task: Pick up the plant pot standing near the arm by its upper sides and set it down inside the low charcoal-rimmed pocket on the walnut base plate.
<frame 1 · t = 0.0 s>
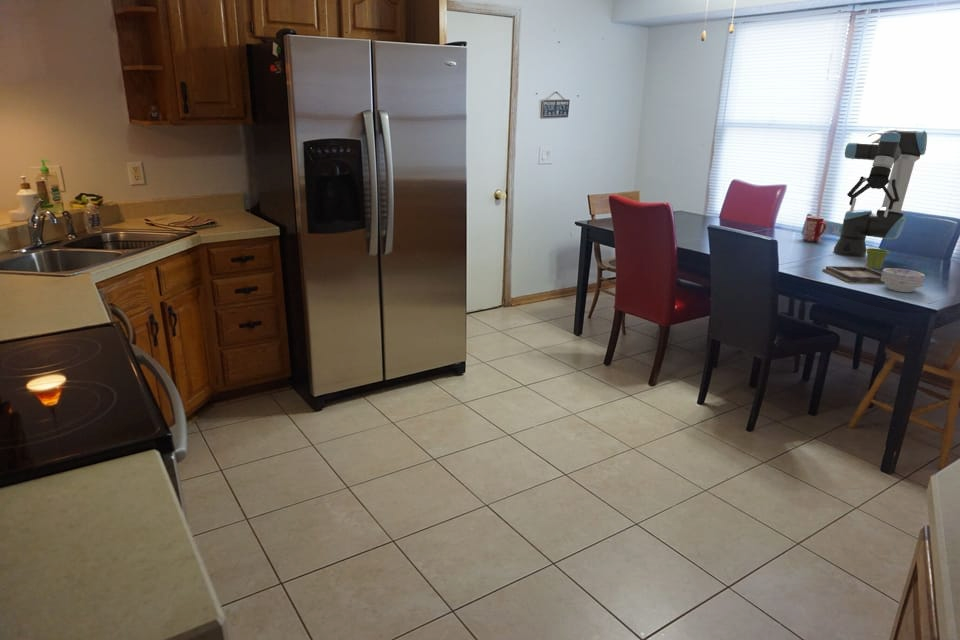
hand: (867, 214, 284), 28 cm above the table, tool tilted 20°, fingers open, 13 cm apart
collar seat: (857, 276, 289), on the table
plant pot: (873, 268, 307), on the table
paper bowls: (899, 290, 271), on the table
mug: (813, 241, 366), on the table
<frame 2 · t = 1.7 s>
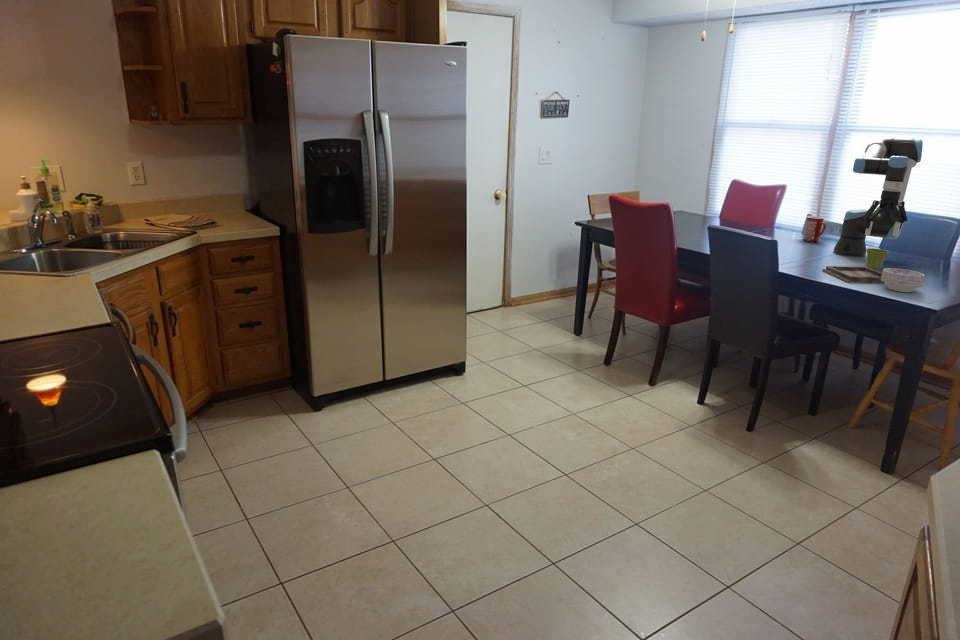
hand: (881, 235, 302), 16 cm above the table, tool pointing down, fingers open, 13 cm apart
nothing on the table moved.
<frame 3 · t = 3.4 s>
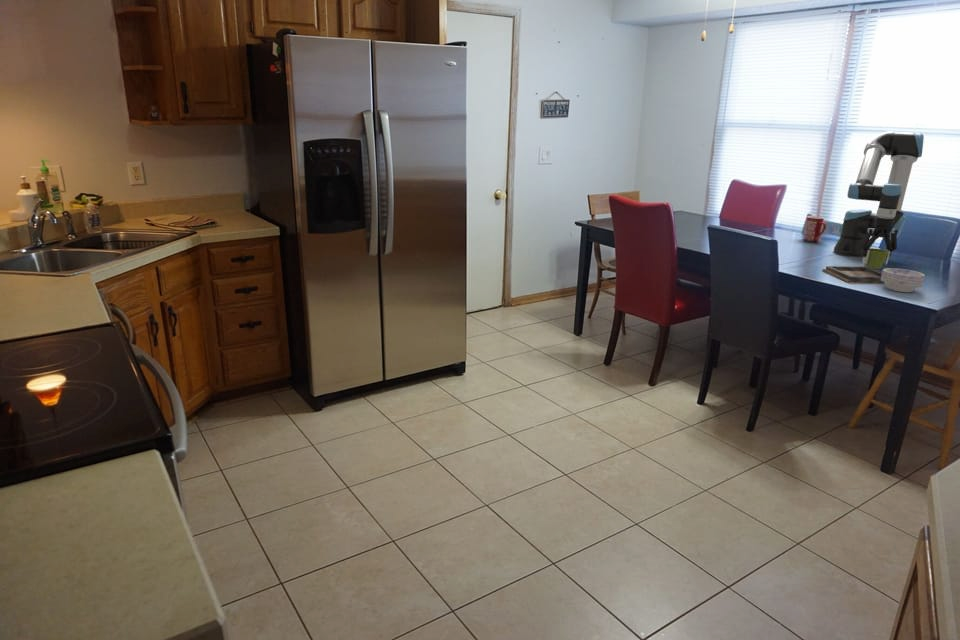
hand: (874, 263, 306), 2 cm above the table, tool pointing down, fingers closed on plant pot, 9 cm apart
plant pot: (873, 268, 307), on the table, touching gripper
everything else where it was.
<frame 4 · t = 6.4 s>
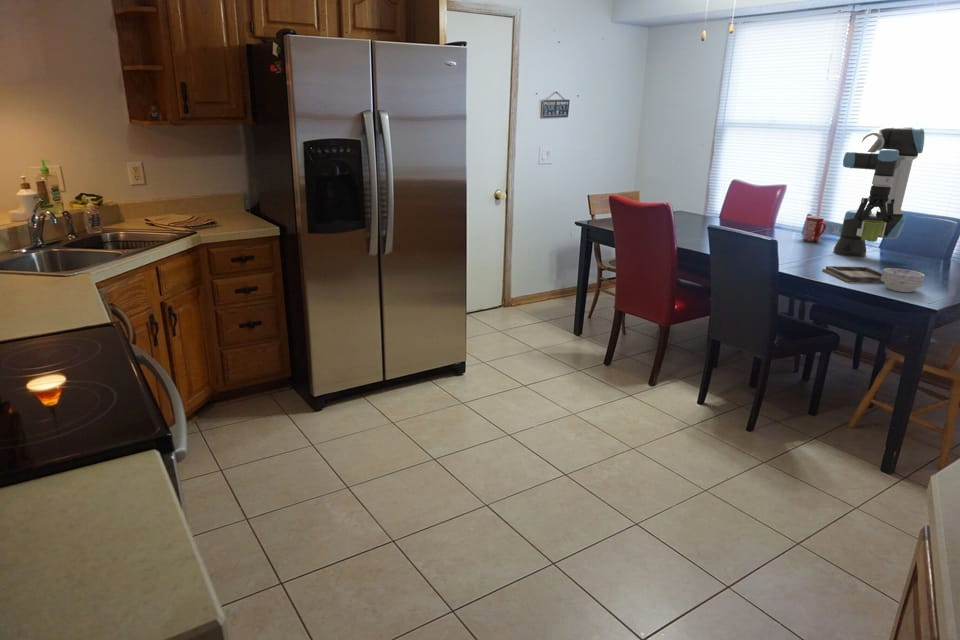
hand: (869, 236, 286), 18 cm above the table, tool pointing down, fingers closed on plant pot, 9 cm apart
plant pot: (868, 241, 287), point 16 cm above the table, touching gripper
everything else where it was.
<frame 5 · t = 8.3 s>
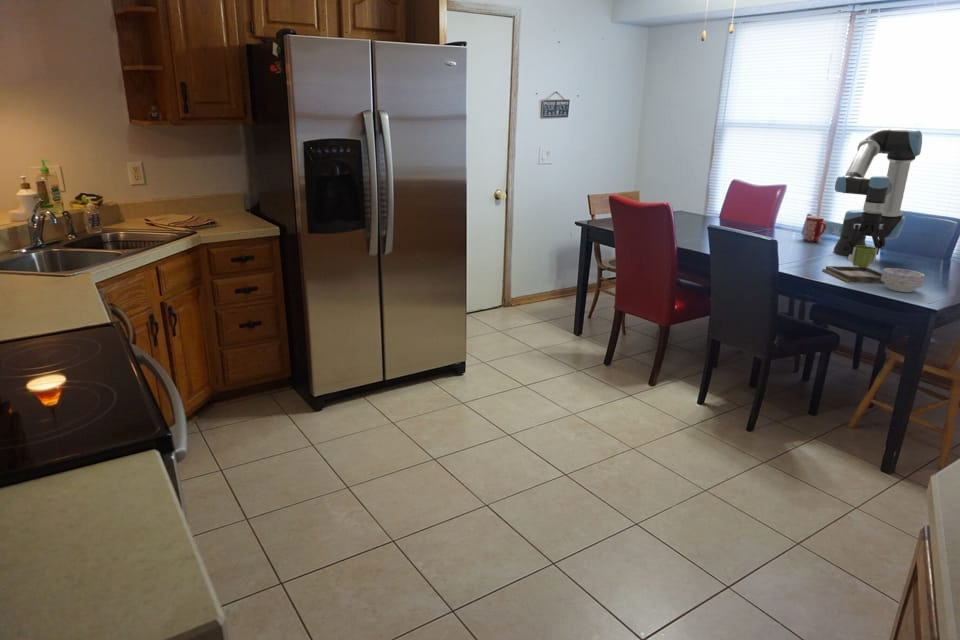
hand: (861, 261, 287), 7 cm above the table, tool pointing down, fingers closed on plant pot, 9 cm apart
plant pot: (860, 266, 288), point 5 cm above the table, touching gripper
everything else where it was.
when the fingers open (4 cm above the table, at t = 9.6 s): plant pot stays where it is, resting on collar seat.
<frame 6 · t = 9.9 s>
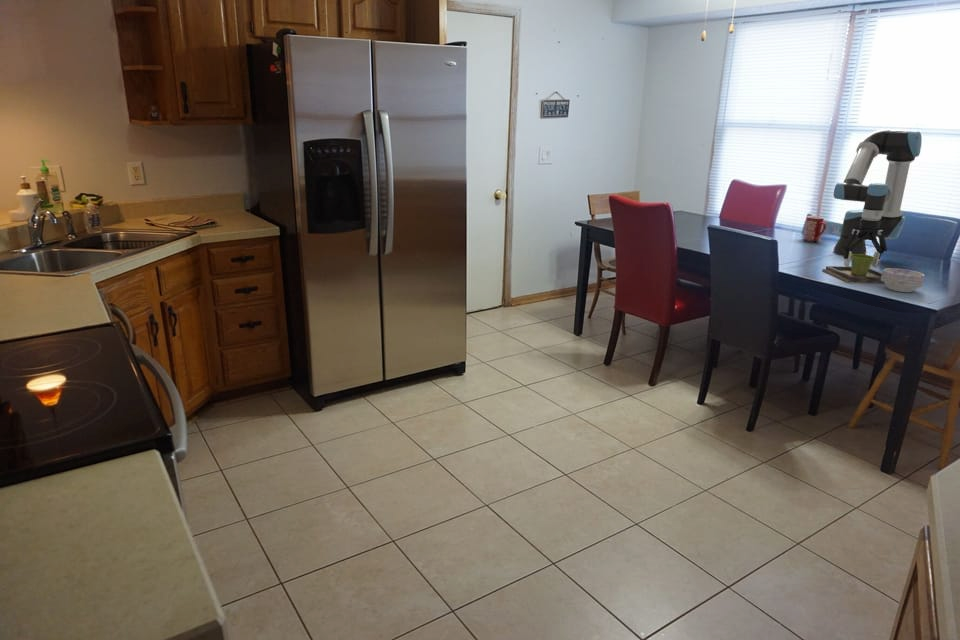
hand: (860, 266, 288), 5 cm above the table, tool pointing down, fingers open, 12 cm apart
plant pot: (858, 275, 289), point 1 cm above the table, touching collar seat
everything else where it was.
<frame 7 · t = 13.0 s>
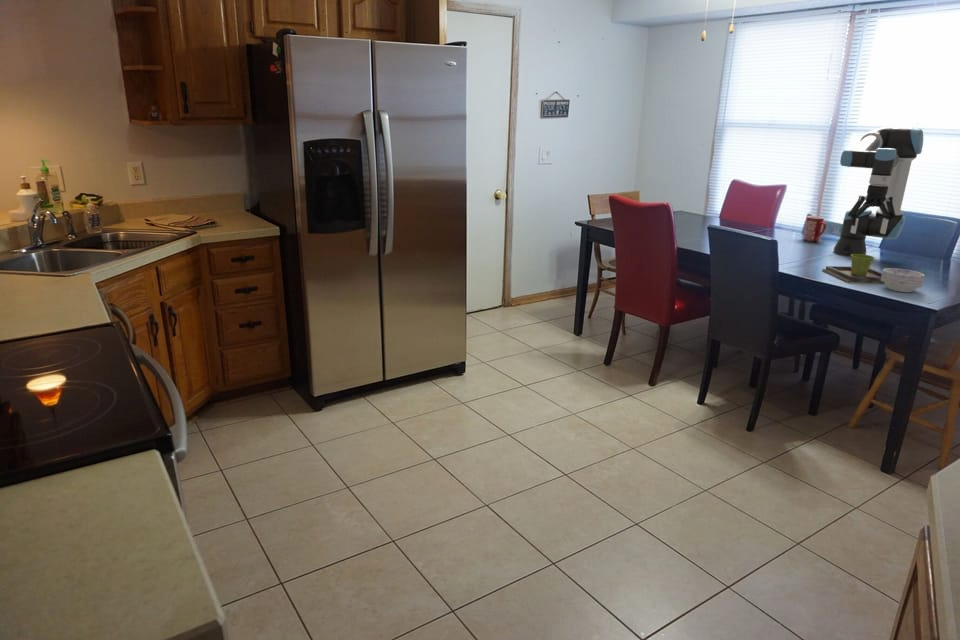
hand: (867, 233, 283), 20 cm above the table, tool pointing down, fingers open, 13 cm apart
nothing on the table moved.
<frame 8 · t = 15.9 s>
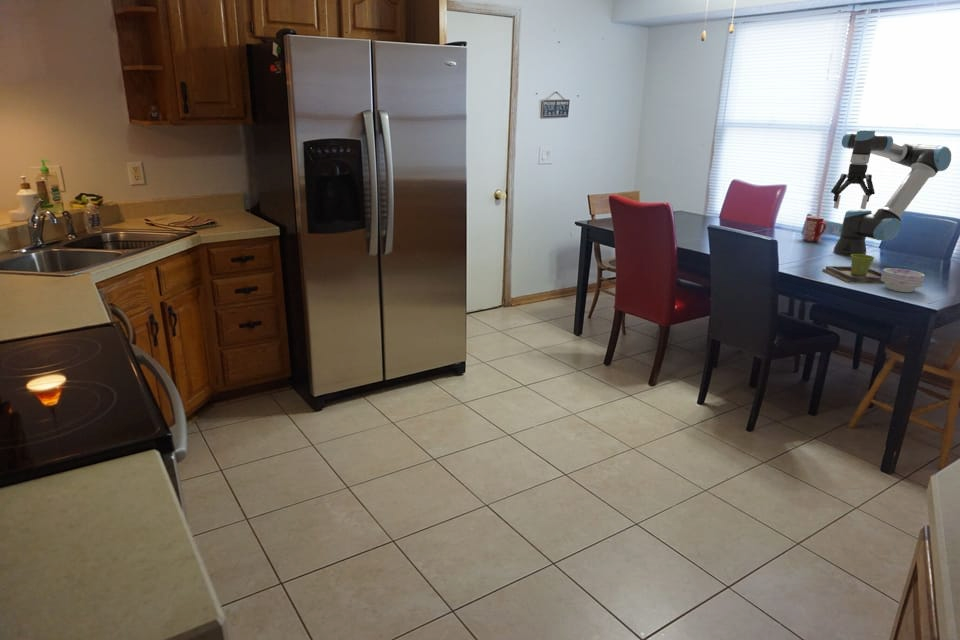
hand: (849, 208, 307), 27 cm above the table, tool pointing down, fingers open, 13 cm apart
nothing on the table moved.
at the end: plant pot inside the target area on the collar seat (0.2 cm from its centre), point 0.8 cm above the collar seat's base; plant pot tilted 0°; the gripper is holding nothing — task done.
